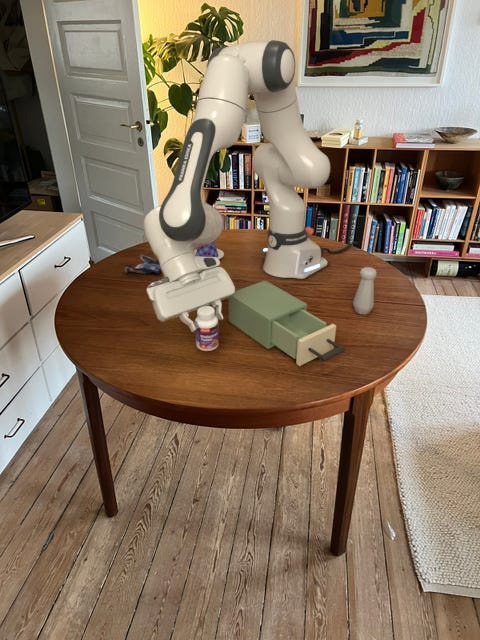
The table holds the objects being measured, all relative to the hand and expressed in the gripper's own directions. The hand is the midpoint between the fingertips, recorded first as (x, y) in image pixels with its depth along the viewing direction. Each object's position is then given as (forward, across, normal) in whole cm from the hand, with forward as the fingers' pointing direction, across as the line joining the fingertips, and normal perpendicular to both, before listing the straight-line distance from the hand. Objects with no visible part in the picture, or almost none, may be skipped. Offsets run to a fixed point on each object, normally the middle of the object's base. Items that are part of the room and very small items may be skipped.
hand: (208, 325), depth 107 cm
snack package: (-30, +10, +44) cm, 54 cm away
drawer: (+14, +20, -2) cm, 24 cm away
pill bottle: (+4, 0, +5) cm, 6 cm away
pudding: (-29, +33, +43) cm, 61 cm away
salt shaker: (+12, +47, +2) cm, 48 cm away
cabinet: (+5, +20, +8) cm, 22 cm away
